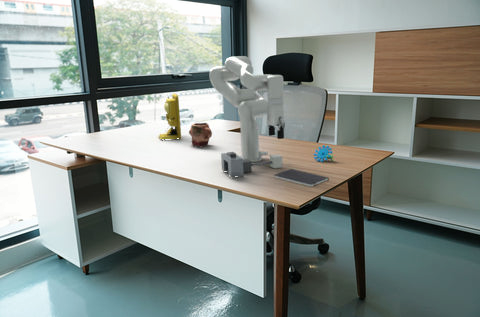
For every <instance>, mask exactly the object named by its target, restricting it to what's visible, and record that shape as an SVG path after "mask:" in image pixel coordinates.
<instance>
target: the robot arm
mask: <svg viewBox="0 0 480 317" xmlns="http://www.w3.org/2000/svg"><path fill="white" fill-rule="evenodd" d="M237 80H239V81H240V83H241V85H242V86H243V87H244V88H238V87H237V86H236V85H235V84H234V83H232V81H234V82H235V81H237ZM209 81H210V83H211V85H212V87H213V88H214V89H215V90H216V91H217V93H219V94H220V95H222V96H223V97H224V99H226V100H227V101H228V102H229V104H231V105H232V106H233V107H235V108H237V114H238V117H239V125H240V127H239V128H240V148H241V152H240V153H241V156H240V157H241V158H243V160H245V159H249V160H250V161H251V164H253V163H260V162H261V161H263V156H269V153H268V151H261V150H260V132H259V131H260V127H259V124H258V122H257V121H256V119H258V118H265V117H266V123H267V127H268V136H269V137H270V136H275V135H276V132H277V137H276V138H277V139H278V140H281V139H283V140H284V139H285V125H286V122H285V114H284V112H285V110H284V76H283V75H281V74H266V73H265V74H254V67H253V65H252V60H251V58H249V57H247V56H245V55H241V56H240V55H238V56H230V57H228V58H226V60H225V61H224V65H218V66H215V67H212V68H211V69H210V70H209ZM261 91H267V95H266V96H267V100H266V98H264V97H263V96H262V95H261V94H260V93H259V92H261ZM276 127H277V131H276Z"/></svg>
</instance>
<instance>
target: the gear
mask: <svg viewBox="0 0 480 317" xmlns="http://www.w3.org/2000/svg"><path fill="white" fill-rule="evenodd" d="M317 148H318V149H315V152H314V153H313V156H314V158H313V159H314V160H316V161H317V162H321V163H323V162H324V160H325V161H329V160H331V162H333V161H334V160H333V158H334V156H333V151H332V150H333V149H332V147H330V146H329V145H327V144H326V146H325V145H322V146H319V147H317Z"/></svg>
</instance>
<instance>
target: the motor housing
mask: <svg viewBox="0 0 480 317" xmlns="http://www.w3.org/2000/svg"><path fill="white" fill-rule="evenodd" d="M220 155H221V157H220V158H221V171H222V170H223V171H228V172H227V173H228V176H229V175H230V176H231V177H235V176H243V177H244V172H243V158H241V156H240V155H238V154H237V153H236V152H234V151H228V152H226V153H225V152H224V153H220ZM223 171H222V172H223ZM231 177H230V178H231Z"/></svg>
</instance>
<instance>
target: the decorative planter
mask: <svg viewBox="0 0 480 317" xmlns="http://www.w3.org/2000/svg"><path fill="white" fill-rule="evenodd" d="M188 134H189V135H190V136H191V145H192V146H193V145H194V146H193V147H195V146H202V147H205V145H206V146H208V145H209V142H210V138H211V137H212V136H213V132H212V129H211V128H210V125H209V123H207V122H196V123H192V124H191V126H190V129H189V130H188Z"/></svg>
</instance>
